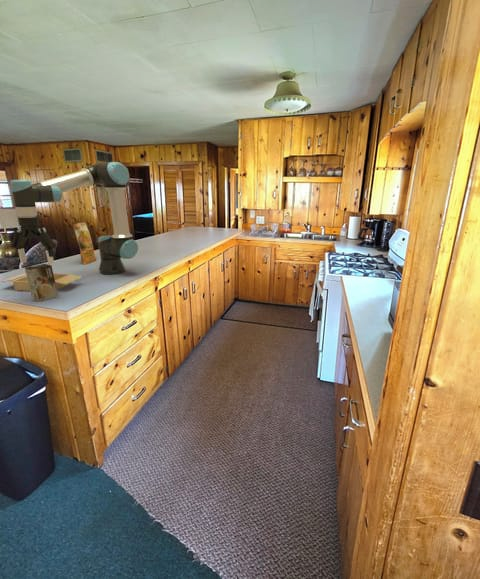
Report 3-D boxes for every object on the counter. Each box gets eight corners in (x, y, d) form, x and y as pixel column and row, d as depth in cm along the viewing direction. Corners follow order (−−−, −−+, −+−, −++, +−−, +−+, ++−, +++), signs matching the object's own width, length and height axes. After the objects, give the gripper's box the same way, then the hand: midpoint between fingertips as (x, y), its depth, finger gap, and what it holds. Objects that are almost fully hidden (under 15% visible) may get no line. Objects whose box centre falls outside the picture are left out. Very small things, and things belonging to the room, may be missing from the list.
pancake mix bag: (75, 265, 204) (68, 224, 195) (90, 258, 222) (84, 221, 213) (85, 265, 204) (78, 224, 195) (99, 259, 222) (93, 221, 213)
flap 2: (52, 281, 151) (65, 284, 150) (69, 274, 163) (81, 276, 163) (52, 282, 151) (65, 284, 150) (69, 274, 163) (81, 277, 163)
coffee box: (51, 294, 149) (45, 263, 144) (58, 296, 146) (52, 265, 140) (32, 299, 141) (24, 267, 136) (38, 302, 138) (31, 269, 133)
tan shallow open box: (71, 282, 167) (70, 273, 165) (51, 292, 151) (49, 282, 149) (37, 281, 168) (35, 272, 167) (14, 290, 153) (11, 281, 151)
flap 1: (32, 272, 165) (21, 274, 166) (12, 279, 152) (0, 281, 153) (32, 273, 165) (21, 275, 166) (12, 280, 153) (1, 282, 154)
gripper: (59, 216, 133) (67, 262, 140) (8, 215, 135) (19, 260, 142) (48, 218, 126) (57, 265, 133) (-6, 216, 128) (6, 263, 135)
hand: (37, 263), depth 138 cm, fingers open, 13 cm apart
